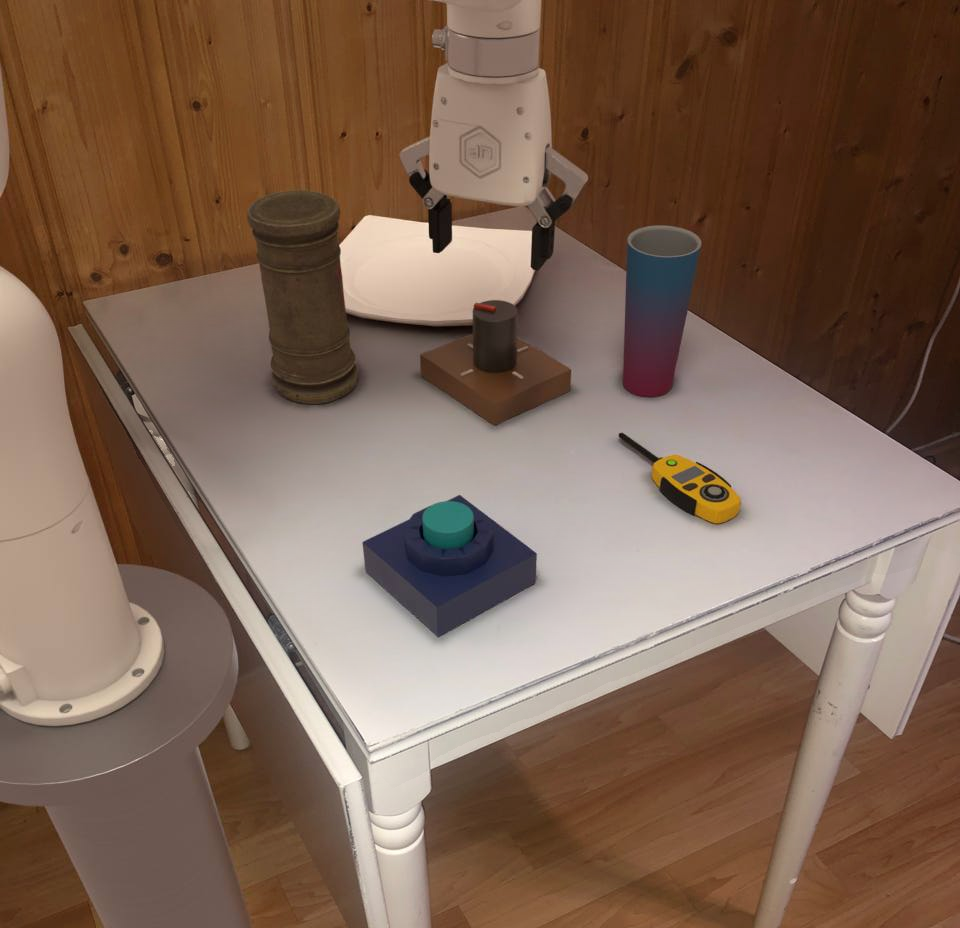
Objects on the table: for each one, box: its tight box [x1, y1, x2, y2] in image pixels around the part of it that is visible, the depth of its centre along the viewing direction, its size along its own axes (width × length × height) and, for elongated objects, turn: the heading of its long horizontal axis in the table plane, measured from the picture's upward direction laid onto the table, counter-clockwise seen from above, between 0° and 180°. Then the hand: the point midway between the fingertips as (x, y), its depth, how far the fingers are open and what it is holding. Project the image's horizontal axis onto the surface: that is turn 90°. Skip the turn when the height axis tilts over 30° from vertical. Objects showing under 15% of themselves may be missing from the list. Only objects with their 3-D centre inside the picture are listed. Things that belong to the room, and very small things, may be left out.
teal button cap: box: [422, 500, 474, 549], centre depth 83 cm, size 4×4×2 cm
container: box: [246, 189, 359, 405], centre depth 102 cm, size 9×9×18 cm
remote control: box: [618, 432, 742, 524], centre depth 95 cm, size 5×2×15 cm
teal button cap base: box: [362, 494, 538, 638], centre depth 85 cm, size 10×10×5 cm
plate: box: [339, 214, 536, 327], centre depth 123 cm, size 24×24×3 cm
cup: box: [622, 224, 702, 398], centre depth 102 cm, size 7×7×15 cm
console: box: [419, 332, 572, 426], centre depth 107 cm, size 10×12×3 cm
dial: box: [472, 300, 519, 372], centre depth 104 cm, size 4×4×6 cm
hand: (490, 255), depth 98 cm, fingers open, 9 cm apart
